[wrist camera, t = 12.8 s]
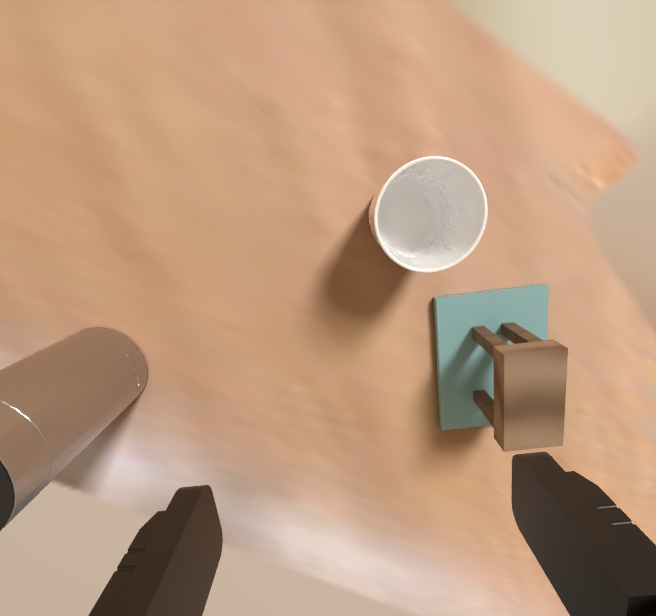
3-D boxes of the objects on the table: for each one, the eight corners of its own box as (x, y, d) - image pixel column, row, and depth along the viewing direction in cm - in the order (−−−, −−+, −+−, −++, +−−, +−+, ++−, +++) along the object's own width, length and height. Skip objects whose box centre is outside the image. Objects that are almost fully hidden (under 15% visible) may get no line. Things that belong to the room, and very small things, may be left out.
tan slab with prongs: (467, 324, 37) (504, 355, 29) (517, 318, 37) (567, 348, 29) (469, 403, 39) (504, 451, 31) (516, 398, 39) (562, 445, 31)
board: (439, 425, 41) (442, 430, 40) (433, 297, 37) (436, 299, 36) (538, 414, 40) (543, 420, 40) (542, 284, 37) (548, 286, 36)
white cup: (445, 250, 36) (488, 266, 26) (365, 260, 36) (378, 278, 26) (442, 166, 34) (487, 149, 24) (358, 176, 34) (369, 163, 24)
